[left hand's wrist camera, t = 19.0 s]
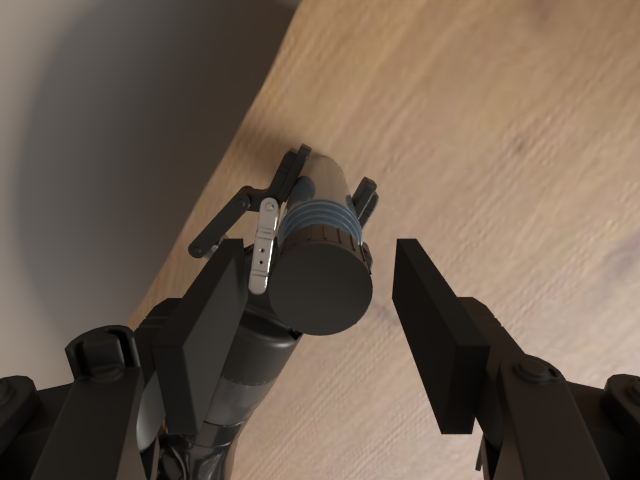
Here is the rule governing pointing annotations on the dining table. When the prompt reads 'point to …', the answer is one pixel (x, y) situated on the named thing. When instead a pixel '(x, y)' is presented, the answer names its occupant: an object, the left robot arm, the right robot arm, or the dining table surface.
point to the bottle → (320, 201)
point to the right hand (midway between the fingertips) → (338, 165)
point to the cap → (319, 281)
